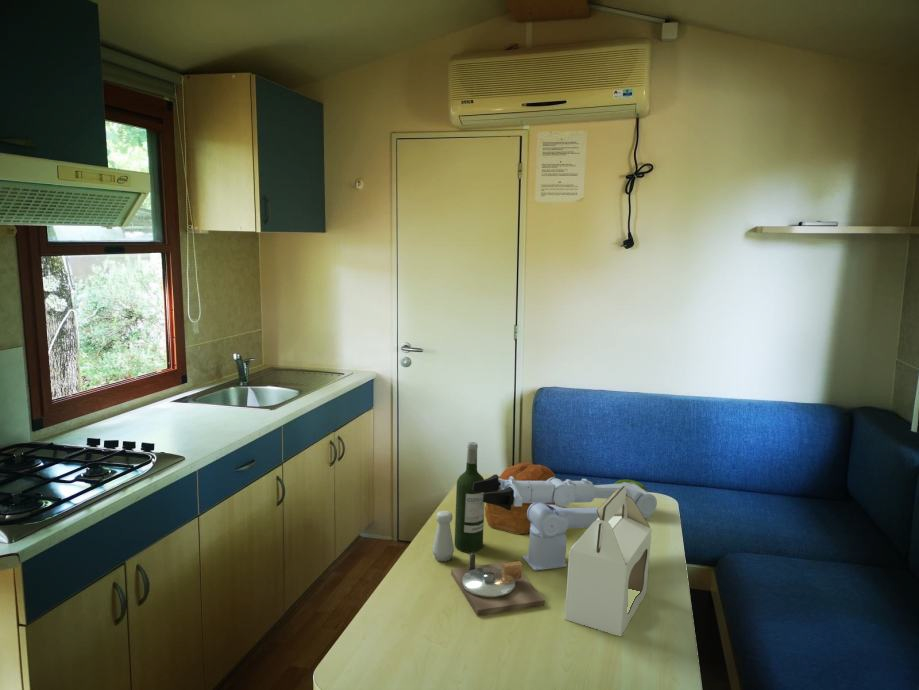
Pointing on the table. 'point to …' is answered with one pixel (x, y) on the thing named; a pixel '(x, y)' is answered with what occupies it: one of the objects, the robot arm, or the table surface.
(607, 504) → the gable box
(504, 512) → the bread
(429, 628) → the table surface
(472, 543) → the wine bottle
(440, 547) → the salt shaker
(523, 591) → the walnut board
